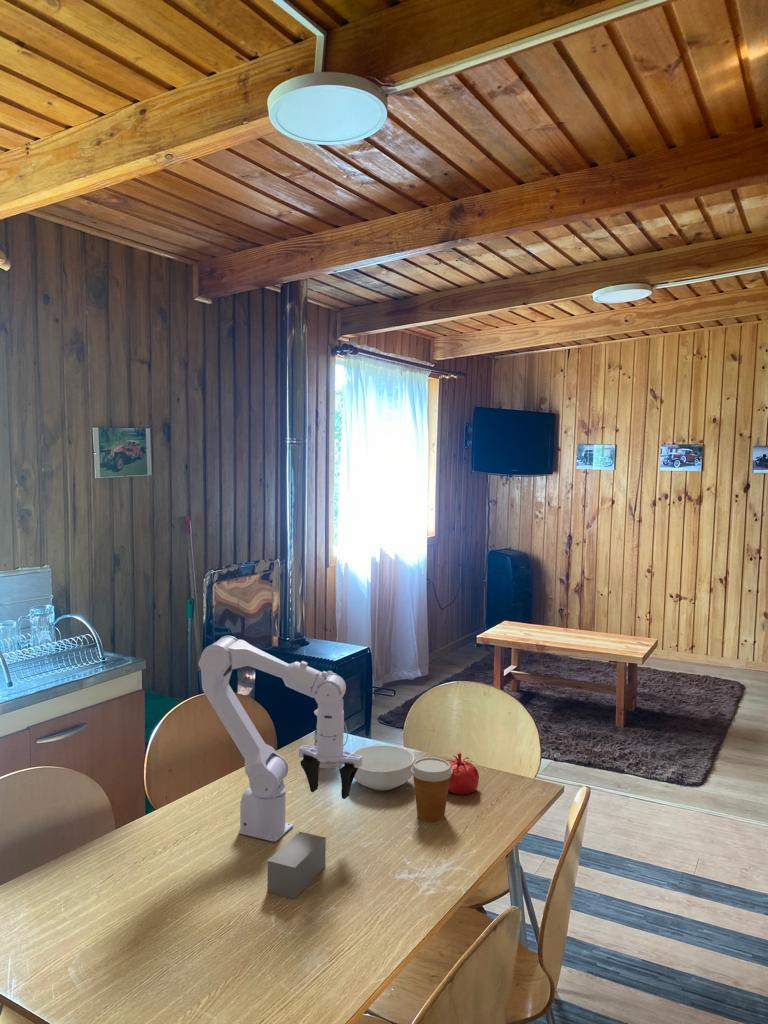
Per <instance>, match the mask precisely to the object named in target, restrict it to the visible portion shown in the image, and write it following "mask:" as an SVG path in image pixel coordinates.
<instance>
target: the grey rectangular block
mask: <svg viewBox="0 0 768 1024" xmlns="http://www.w3.org/2000/svg"><path fill="white" fill-rule="evenodd" d="M326 841H327V839H326V836H321V835H316V834H313V833H307V832H303V831H299V832H297V833H296V834H295V835H294V836H293V837H292V838H291V839H290V840H289V841H288V842H286V843H285V844H284V845H283V846H282V847H281V848H280V849H279V850H277V851H276V853H274V855H272V856H271V857H270V858H269V859H268V860H267V878H266V879H267V881H266V882H267V884H266V886H267V888H266V889H267V892H268V893H271V894H275V895H277V896H283V897H285V898H289V897H290V898H289V899H293V898H294V900H295V899H296V898H297V897H298V896H300V895H301V893H302V892H303V891H304V890H305V889H306V888H307V886H309V884H310V883H311V882H313V880H314V879H315V878H316V877H317V876H318V875H319V874H320V873H321V872H322V871H323V869H324V868H326V849H327V848H326V845H327V844H326V843H327V842H326Z"/></svg>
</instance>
